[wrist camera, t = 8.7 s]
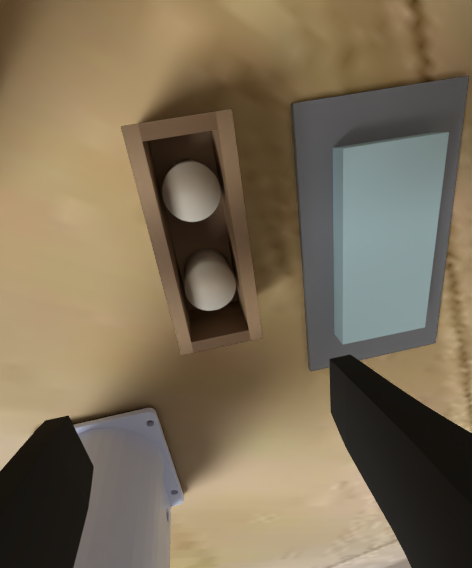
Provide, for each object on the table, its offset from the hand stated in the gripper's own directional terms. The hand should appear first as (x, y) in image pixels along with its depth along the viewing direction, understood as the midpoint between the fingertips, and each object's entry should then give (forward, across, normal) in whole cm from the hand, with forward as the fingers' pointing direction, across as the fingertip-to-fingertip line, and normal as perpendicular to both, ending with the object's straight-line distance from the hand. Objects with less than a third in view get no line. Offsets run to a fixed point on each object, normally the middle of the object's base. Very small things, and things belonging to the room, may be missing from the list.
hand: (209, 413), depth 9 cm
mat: (+10, -11, 0) cm, 15 cm away
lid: (+10, -11, 0) cm, 15 cm away
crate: (+10, -1, -2) cm, 11 cm away
